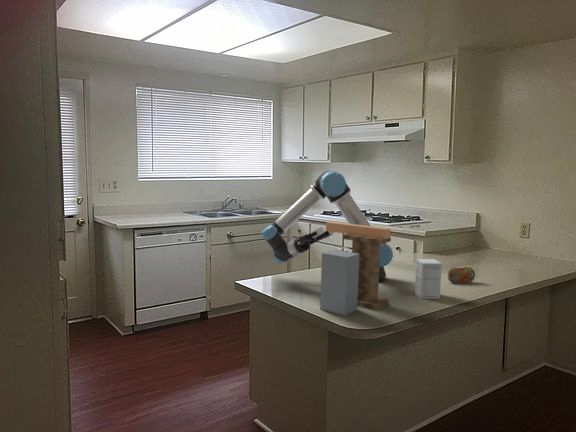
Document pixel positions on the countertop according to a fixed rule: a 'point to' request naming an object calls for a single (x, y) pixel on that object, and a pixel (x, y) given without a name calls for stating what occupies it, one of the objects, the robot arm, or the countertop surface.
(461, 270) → the tin
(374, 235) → the rod
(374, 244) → the stand
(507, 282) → the countertop surface
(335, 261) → the slate block
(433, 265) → the supplement box
